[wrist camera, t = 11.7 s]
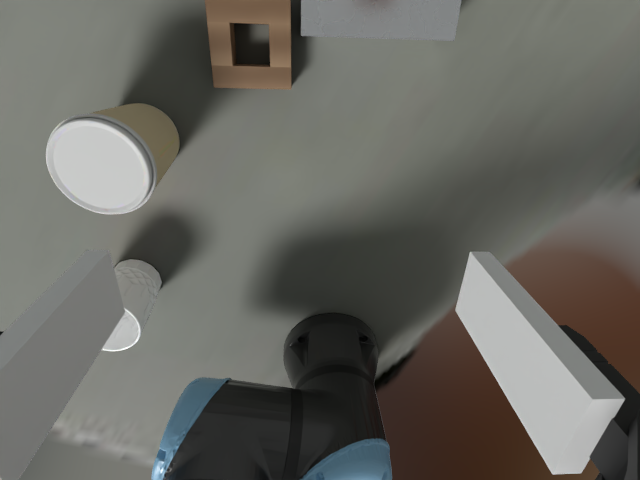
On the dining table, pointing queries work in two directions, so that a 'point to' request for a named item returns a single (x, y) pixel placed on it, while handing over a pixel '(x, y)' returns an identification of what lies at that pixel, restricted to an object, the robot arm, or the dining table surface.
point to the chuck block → (381, 19)
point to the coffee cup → (112, 156)
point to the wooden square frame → (222, 12)
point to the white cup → (133, 301)
